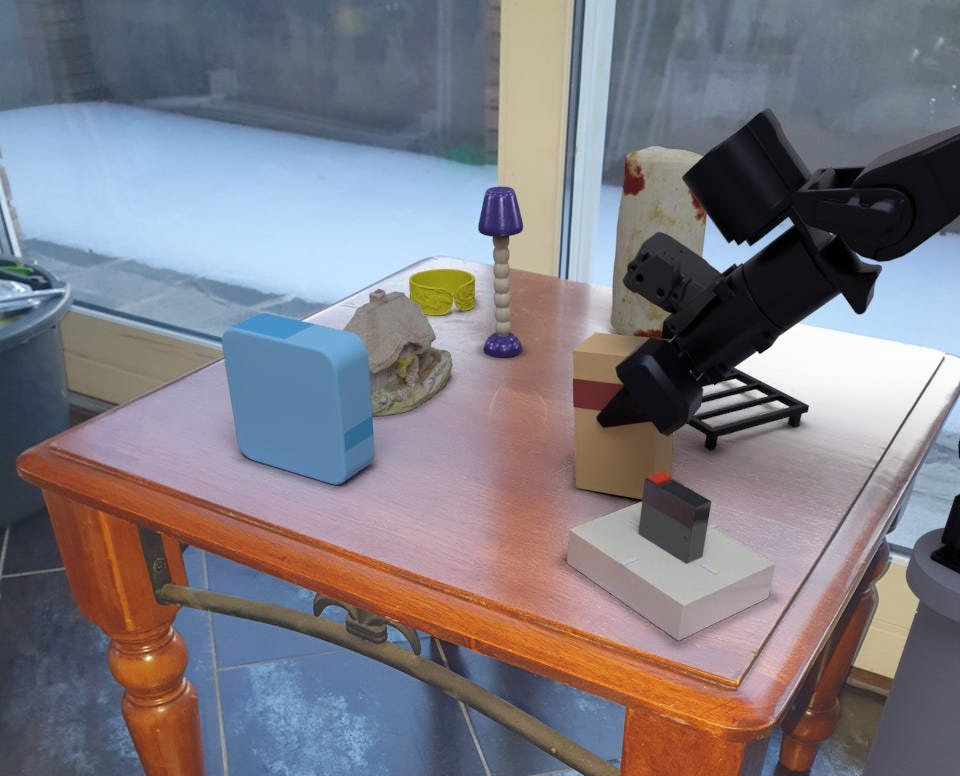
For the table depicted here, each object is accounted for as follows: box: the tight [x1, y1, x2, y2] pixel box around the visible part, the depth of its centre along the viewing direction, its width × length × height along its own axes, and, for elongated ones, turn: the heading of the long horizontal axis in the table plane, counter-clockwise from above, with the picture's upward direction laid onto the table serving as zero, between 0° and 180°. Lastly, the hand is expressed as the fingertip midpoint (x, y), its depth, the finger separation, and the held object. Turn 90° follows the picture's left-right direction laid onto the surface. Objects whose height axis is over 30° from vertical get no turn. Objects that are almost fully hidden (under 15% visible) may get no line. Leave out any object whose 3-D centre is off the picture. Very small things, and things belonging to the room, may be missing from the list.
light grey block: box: [566, 501, 776, 642], centre depth 73 cm, size 12×9×3 cm
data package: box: [221, 312, 376, 486], centre depth 85 cm, size 12×4×12 cm, turn 60°
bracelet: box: [408, 268, 476, 316], centre depth 121 cm, size 7×8×3 cm
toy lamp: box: [477, 186, 524, 358], centre depth 105 cm, size 5×5×17 cm
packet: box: [572, 332, 675, 500], centre depth 81 cm, size 5×7×12 cm, turn 61°
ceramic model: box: [342, 288, 454, 417], centre depth 98 cm, size 14×11×10 cm
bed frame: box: [686, 367, 810, 452], centre depth 98 cm, size 19×12×2 cm, turn 29°
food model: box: [610, 145, 708, 339], centre depth 107 cm, size 10×7×20 cm
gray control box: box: [639, 472, 713, 563], centre depth 70 cm, size 5×2×5 cm, turn 35°
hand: (610, 410), depth 82 cm, fingers closed on packet, 5 cm apart
